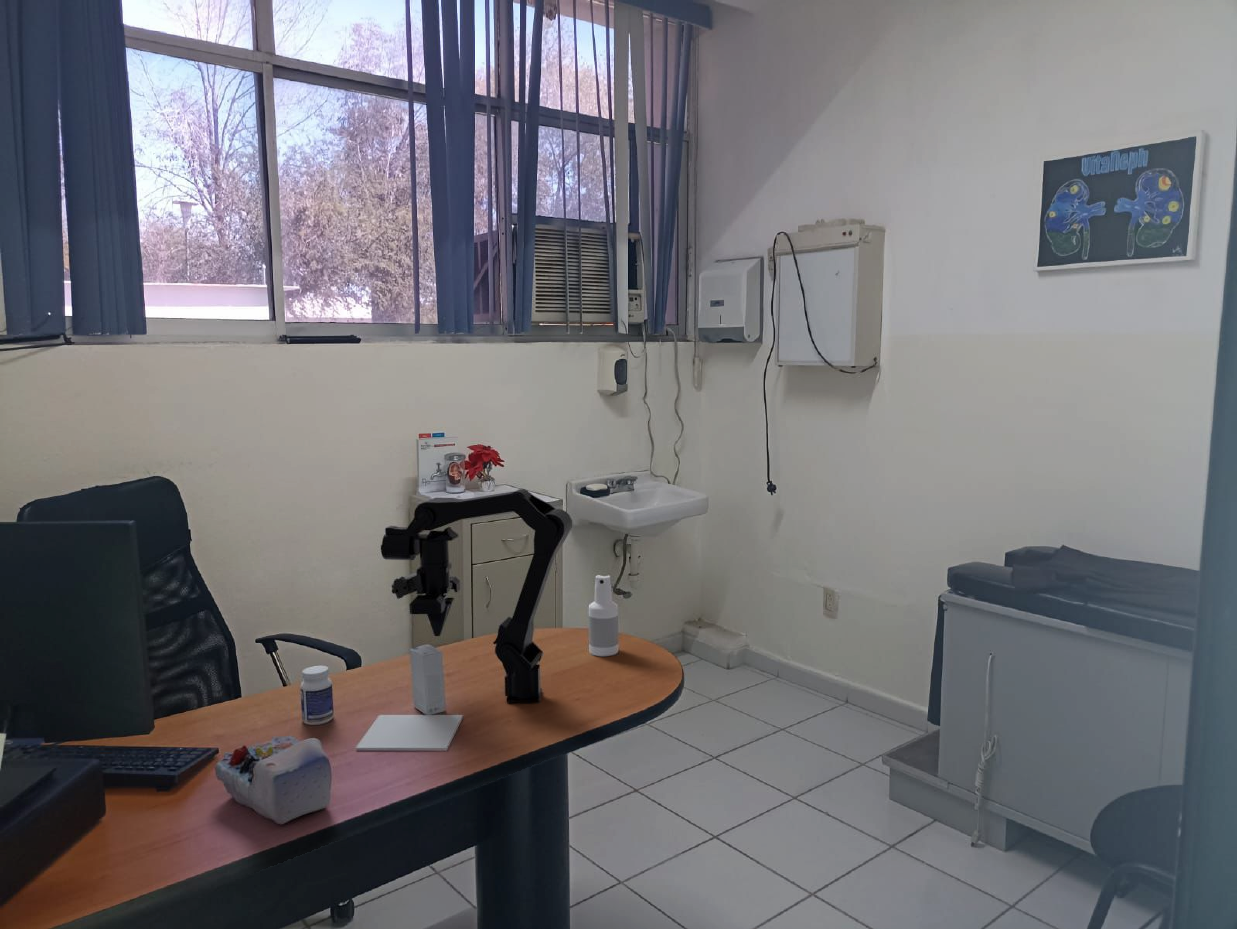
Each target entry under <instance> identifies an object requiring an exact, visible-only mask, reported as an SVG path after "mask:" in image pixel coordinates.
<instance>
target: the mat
mask: <svg viewBox="0 0 1237 929" xmlns="http://www.w3.org/2000/svg"><path fill="white" fill-rule="evenodd" d="M463 717H464V715H463V714H433V715H426V714H379V715H378V716H377V718H375V720H374V722H373V723H372V724H371V726H370V727H369V729H368V730H367V731H366V733H365V734H364V736H362V739H361V740H360V741H359V742H358V744H357V745H356V747H355V751H390V752H391V751H399V752H400V751H404V752H405V751H407V752H408V751H410V752H411V751H416V752H417V751H421V752H422V751H423V752H424V751H426V752H427V751H429V752H430V751H432V752H433V751H435V752H436V751H437V752H438V751H439V752H440V751H441V752H442V751H445V752H446V751H448V748H449V747H450V744H451V742H452V741H453V738H454V736H455V734H456V732H457V731H458V728H459V725H460V724H461V722H462V720H463Z"/></svg>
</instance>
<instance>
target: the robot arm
mask: <svg viewBox="0 0 1237 929" xmlns="http://www.w3.org/2000/svg"><path fill="white" fill-rule="evenodd" d="M510 512H511V513H512V512H514V513H515V514H516V515H518V516H519V518H520V519H521V520H522V521H523V522H524V523H525V524H526V525H527V526H528V527H530V529H532V530H533V531H534V536H533V553H532V554H533V555H532V558H531V561H530V564H529V567H528V569H527V570H528V571H527V573H526V576H525V579H524V582H523V585H522V588H521V591H520V594H519V597H518V600H517V603H516V605H515V609H514V613H513V615H512V617H510V616H508V617H506V618H505V620H504V621H502V622H501V623H500V624H499V626H498V629H497V636H496V637H495V640H494V641H493V642H492V644H493V645H495V647H494V653H495V655H496V658H497V659H498V660H499V661H500V662H501V664H502V666H503V669H504V672H505V674H504V696H505V697H506V699H505V701H506V702H505V703H522V704H523V703H524V704H525V703H539V701H540V699H541V695H542V691H543V689H542V688H541V665H540V664H539V662H541V660H542V656H543V654H544V652H543V650H542V649H541V648H540V647H539V646H538V645H537V644H536V643H535V642H534V641H533V638H534V632H535V629H534V626H535V625H534V619H535V616H536V612H537V609H538V607H539V603H540V600H541V598H542V595H543V593H544V589H545V586H546V584H547V581H548V577H549V575H550V571H551V568H552V565H553V562H554V560H555V557H556V556H557V554H558V552H559V551H560V549H561V548H562V546H563V544H564V543H565V540H567V537H568V535H569V534H570V532H571V530H572V528H573V519H572V517H571V516H570V514H569V513H568V512H567V511H566V510H564V509H560V508H556V507H554V506H553V505H552V504H550V503H548V502H546V501H544V500H543V499H541V498H539V497H537V496H535V495H534V494H532V493H531V492H530V491H528V490H527V489H524V488H519V489H517V490H514V491H507V492H500V493H495V494H488V495H481V496H475V497H471V498H453V497H433V498H431V499H429V500H426V501H423V502H421V503H419V504H418V505H417V506H416V508H415V509H414V513H413V516H414V517H413V518H412V520H411V521H410V523H409V524H408V526H406V527H405V526H397V525H389V526H387V527H385V529H384V531H385V532H384V535H383V537H382V541H381V545H380V552H381V556H382V558H383V559H384V560H386V561H387V560H389V561H390V560H391V561H414V560H415V559H416V557H417V556H419V565H420V566H418V568H417V569H416V572H414V573H411V574H408V575H405V576H403V575H402V576H401V577H399V578H395V579H394V580H393V583H392V584H391V593H392V594H393V595H394V594H395V596H396V599H398V600H399V599H403V597H404V596H405V597H406V596H407V595H410V594H412V593H416V595H417V596H416V597H414V599H412V601H411V602H410V603H409V604H408V606H409V614H410V615H426V616H427V617H428V621H429V624H430V627H431V628H432V633H433V635H434V636H435V637H441V635H442V633H443V629H444V627H445V623H446V621H447V619H448V615H449V613H450V611H451V609H452V608H451V607H452V606H453V604H454V600H455V598H454V597H448V593H449V592H450V591H451V590H453V591H454V593H459V591H460V590H461V581H460V579H459V578H457V577H456V576H451V575H450V570H451V569H452V562H450V554H449V552H450V551H449V541H450V542H451V541H454V540H456V539H457V538H458V537H459V534H458V533H457V532H456V531H454V530H453V529H452V528H451V526H448V527H446V528H444V530H435V529H438V528H442V527H444V526H447V525H450V524H452V523H455V522H458V521H461V520H465V519H472V518H478V517H485V516H492V515H498V514H499V515H500V514H505V513H510ZM425 531H429V532H428V534H424V532H425Z"/></svg>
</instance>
